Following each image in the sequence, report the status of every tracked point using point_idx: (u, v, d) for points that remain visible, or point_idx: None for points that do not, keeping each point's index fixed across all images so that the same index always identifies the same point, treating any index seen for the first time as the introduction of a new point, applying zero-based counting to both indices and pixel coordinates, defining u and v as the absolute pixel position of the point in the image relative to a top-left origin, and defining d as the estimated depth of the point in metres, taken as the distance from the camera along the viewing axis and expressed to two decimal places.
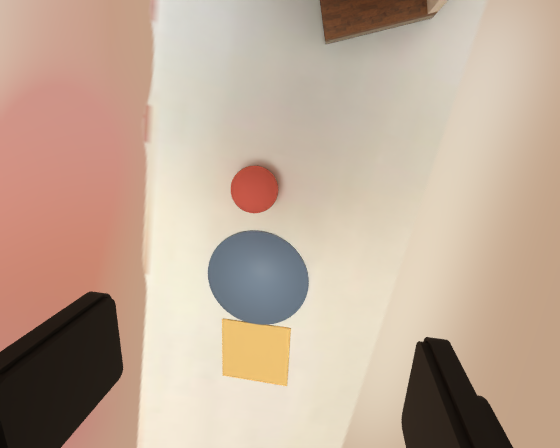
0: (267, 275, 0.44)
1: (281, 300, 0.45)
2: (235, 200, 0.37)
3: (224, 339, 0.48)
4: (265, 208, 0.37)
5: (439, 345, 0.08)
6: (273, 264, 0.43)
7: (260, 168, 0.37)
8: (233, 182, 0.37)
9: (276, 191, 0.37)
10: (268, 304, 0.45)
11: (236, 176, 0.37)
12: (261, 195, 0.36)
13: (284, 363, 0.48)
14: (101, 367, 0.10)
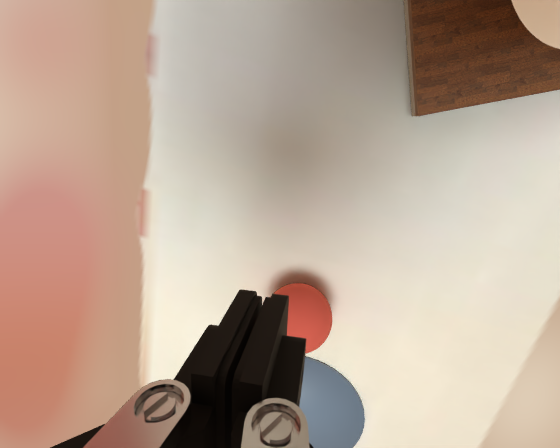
0: (307, 409, 0.32)
1: (325, 439, 0.33)
2: None
3: None
4: (315, 349, 0.26)
5: (276, 298, 0.10)
6: (316, 397, 0.32)
7: (309, 293, 0.25)
8: None
9: (331, 324, 0.26)
10: None
11: None
12: (312, 339, 0.24)
13: None
14: None
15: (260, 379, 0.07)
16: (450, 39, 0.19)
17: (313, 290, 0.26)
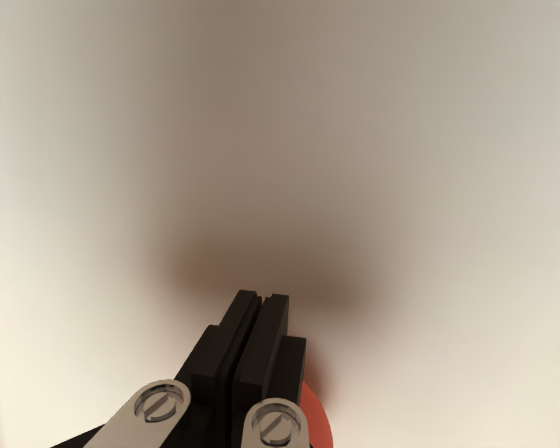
0: None
1: None
2: None
3: None
4: None
5: (276, 298, 0.10)
6: None
7: None
8: None
9: None
10: None
11: None
12: None
13: None
14: None
15: (260, 379, 0.07)
16: None
17: None
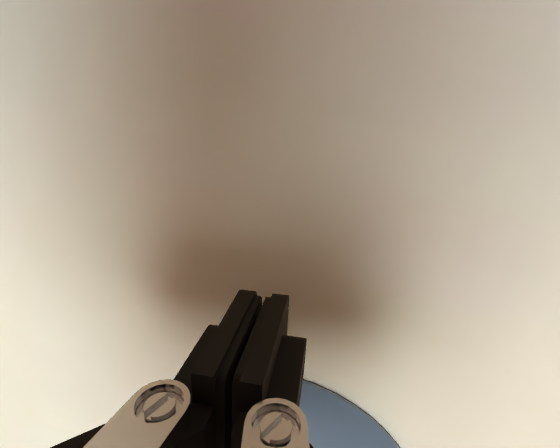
0: None
1: None
2: None
3: None
4: None
5: (276, 298, 0.10)
6: None
7: None
8: None
9: None
10: None
11: None
12: None
13: None
14: None
15: (260, 379, 0.07)
16: None
17: None
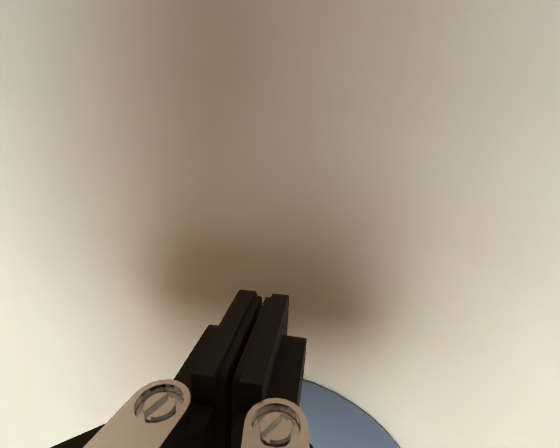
0: None
1: None
2: None
3: None
4: None
5: (276, 298, 0.10)
6: None
7: None
8: None
9: None
10: None
11: None
12: None
13: None
14: None
15: (260, 379, 0.07)
16: None
17: None
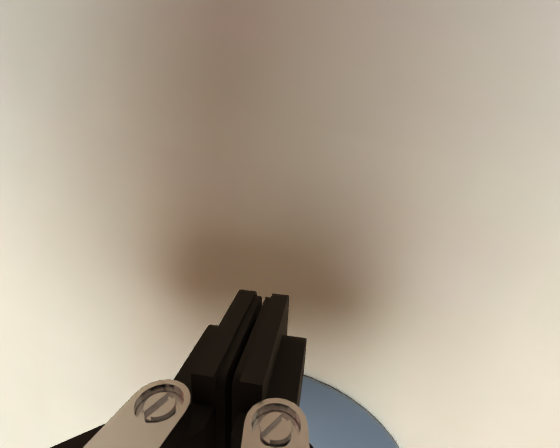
0: None
1: None
2: None
3: None
4: None
5: (276, 298, 0.10)
6: None
7: None
8: None
9: None
10: None
11: None
12: None
13: None
14: None
15: (260, 379, 0.07)
16: None
17: None
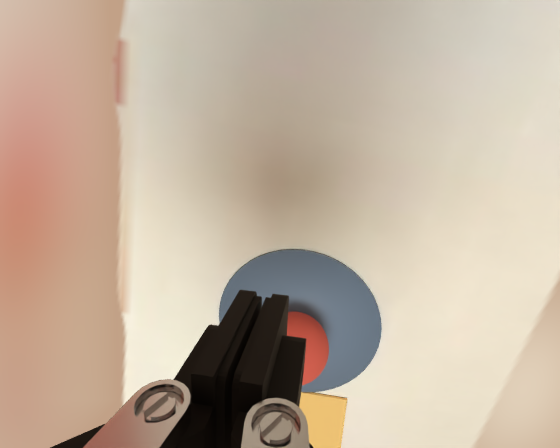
0: None
1: (334, 358, 0.28)
2: None
3: None
4: (315, 322, 0.25)
5: (276, 298, 0.10)
6: (324, 303, 0.27)
7: None
8: None
9: None
10: None
11: None
12: None
13: None
14: None
15: (260, 379, 0.07)
16: None
17: None
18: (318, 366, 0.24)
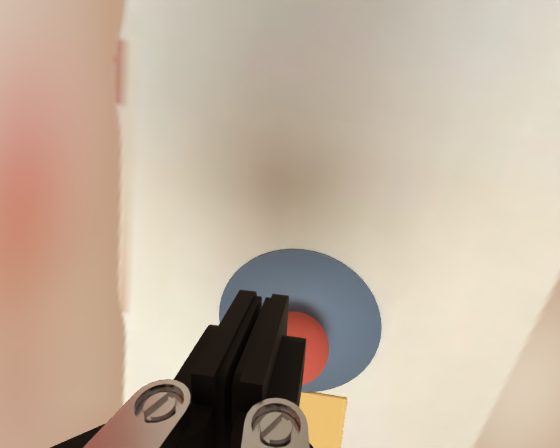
0: None
1: (334, 358, 0.28)
2: None
3: None
4: (315, 322, 0.25)
5: (276, 298, 0.10)
6: (324, 303, 0.27)
7: None
8: None
9: None
10: None
11: None
12: None
13: None
14: None
15: (260, 378, 0.07)
16: None
17: None
18: (318, 366, 0.24)
